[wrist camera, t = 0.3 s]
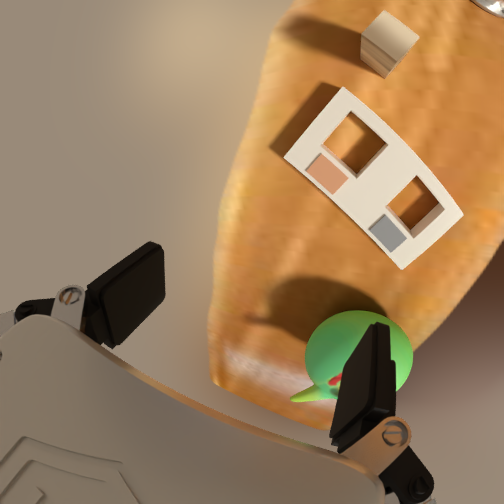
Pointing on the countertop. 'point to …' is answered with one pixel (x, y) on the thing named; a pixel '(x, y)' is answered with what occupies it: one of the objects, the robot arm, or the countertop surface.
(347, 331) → the toy bird
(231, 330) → the countertop surface
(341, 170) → the socket block
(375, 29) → the maple peg
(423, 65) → the countertop surface
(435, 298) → the countertop surface
